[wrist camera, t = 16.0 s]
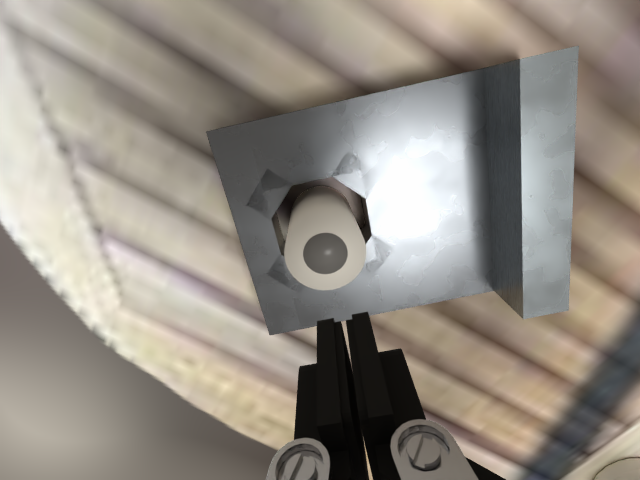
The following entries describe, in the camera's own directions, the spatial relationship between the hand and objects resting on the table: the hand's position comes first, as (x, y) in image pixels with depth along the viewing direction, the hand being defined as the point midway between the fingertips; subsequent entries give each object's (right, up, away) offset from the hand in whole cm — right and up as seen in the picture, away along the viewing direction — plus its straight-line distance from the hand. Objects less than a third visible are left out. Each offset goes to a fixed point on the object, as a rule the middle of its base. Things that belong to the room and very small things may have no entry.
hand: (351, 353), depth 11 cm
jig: (+4, +7, +16) cm, 18 cm away
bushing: (-1, +6, +17) cm, 18 cm away
